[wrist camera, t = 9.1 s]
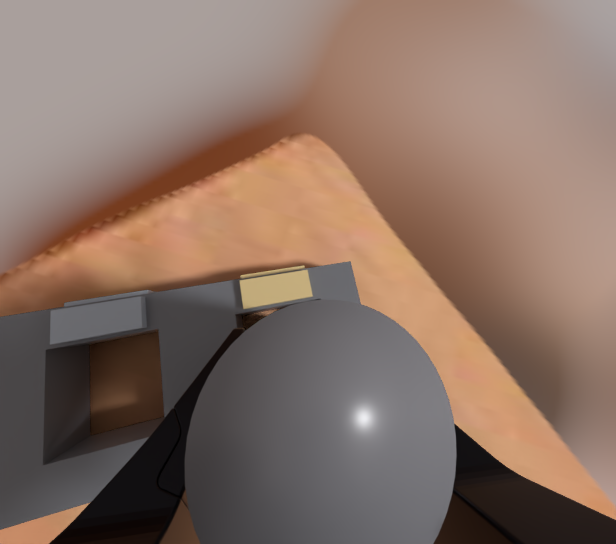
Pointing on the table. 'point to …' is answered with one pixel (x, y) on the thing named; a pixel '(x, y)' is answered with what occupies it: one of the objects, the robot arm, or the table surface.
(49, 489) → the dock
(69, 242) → the table surface
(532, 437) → the table surface
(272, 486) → the white dome-top cylinder
